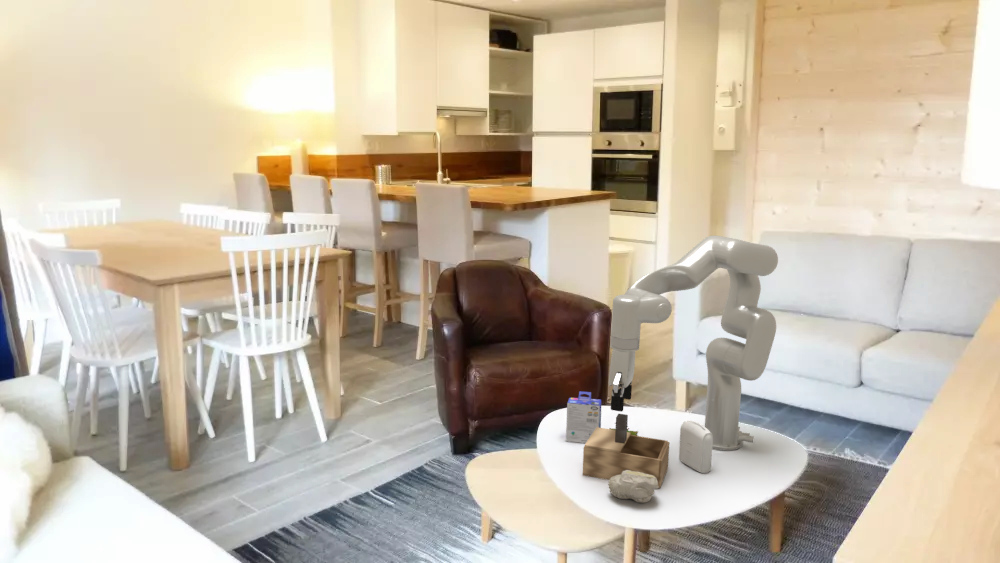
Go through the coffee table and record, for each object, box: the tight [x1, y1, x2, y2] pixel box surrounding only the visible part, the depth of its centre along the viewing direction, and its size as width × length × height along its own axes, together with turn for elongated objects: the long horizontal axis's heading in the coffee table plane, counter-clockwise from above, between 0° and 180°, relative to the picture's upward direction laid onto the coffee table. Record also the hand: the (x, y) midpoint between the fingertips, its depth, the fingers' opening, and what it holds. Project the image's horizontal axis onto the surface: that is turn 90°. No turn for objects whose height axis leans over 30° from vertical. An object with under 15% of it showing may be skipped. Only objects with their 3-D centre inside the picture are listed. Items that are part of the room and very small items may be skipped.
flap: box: [584, 413, 631, 453], centre depth 203 cm, size 10×13×8 cm
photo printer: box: [678, 420, 713, 474], centre depth 206 cm, size 10×4×12 cm, turn 26°
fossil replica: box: [607, 470, 660, 504], centre depth 188 cm, size 12×8×10 cm
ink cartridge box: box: [565, 390, 602, 444], centre depth 222 cm, size 10×6×14 cm, turn 78°
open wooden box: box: [582, 435, 670, 490], centre depth 203 cm, size 21×13×8 cm, turn 69°
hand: (621, 404), depth 200 cm, fingers open, 9 cm apart
